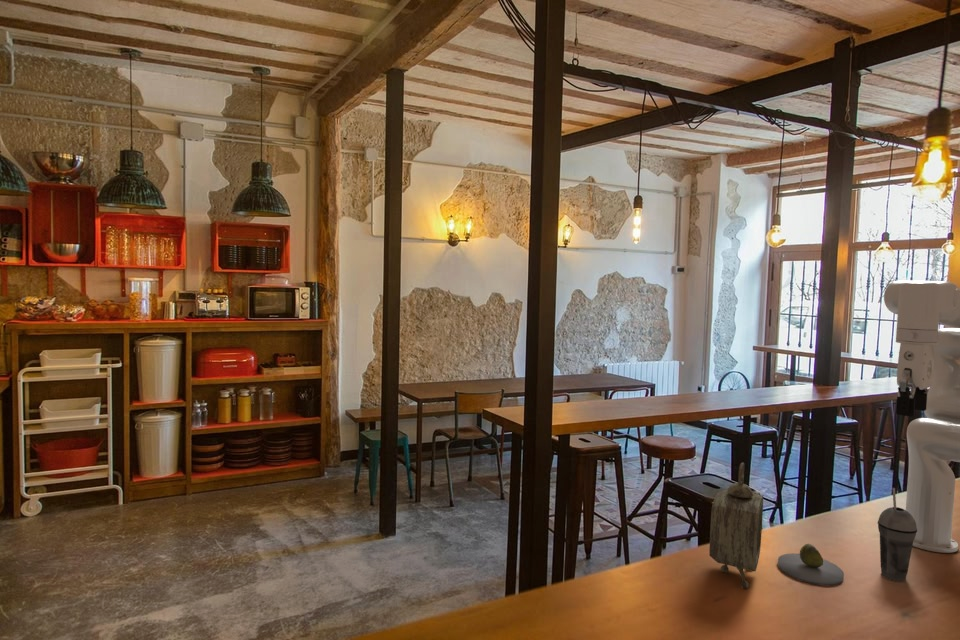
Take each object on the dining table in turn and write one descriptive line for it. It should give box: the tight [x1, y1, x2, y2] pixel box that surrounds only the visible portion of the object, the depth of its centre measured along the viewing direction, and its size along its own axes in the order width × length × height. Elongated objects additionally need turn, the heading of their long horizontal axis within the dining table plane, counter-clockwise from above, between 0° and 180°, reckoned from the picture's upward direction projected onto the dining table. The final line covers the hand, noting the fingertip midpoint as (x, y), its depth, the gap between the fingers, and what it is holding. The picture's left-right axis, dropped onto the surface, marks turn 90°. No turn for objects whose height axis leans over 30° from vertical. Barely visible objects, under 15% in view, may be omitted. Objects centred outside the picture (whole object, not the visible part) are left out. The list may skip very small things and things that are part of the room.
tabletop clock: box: [708, 462, 764, 589], centre depth 131 cm, size 14×9×25 cm, turn 150°
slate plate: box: [777, 553, 845, 586], centre depth 135 cm, size 13×13×1 cm
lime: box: [799, 543, 824, 568], centre depth 134 cm, size 4×5×5 cm
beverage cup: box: [877, 487, 917, 583], centre depth 132 cm, size 7×7×20 cm
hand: (911, 412), depth 135 cm, fingers open, 9 cm apart
